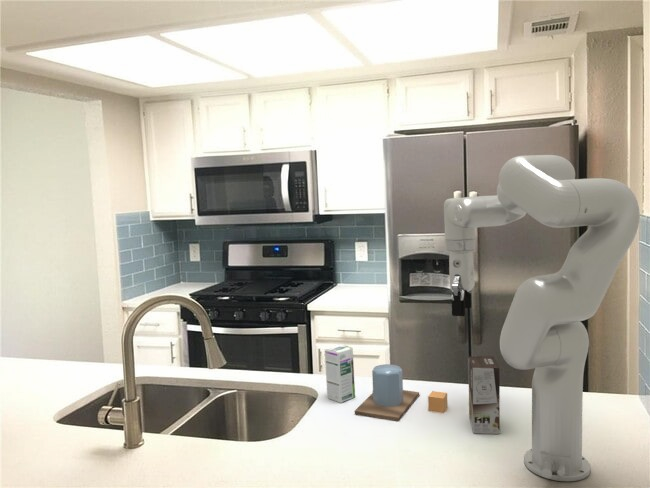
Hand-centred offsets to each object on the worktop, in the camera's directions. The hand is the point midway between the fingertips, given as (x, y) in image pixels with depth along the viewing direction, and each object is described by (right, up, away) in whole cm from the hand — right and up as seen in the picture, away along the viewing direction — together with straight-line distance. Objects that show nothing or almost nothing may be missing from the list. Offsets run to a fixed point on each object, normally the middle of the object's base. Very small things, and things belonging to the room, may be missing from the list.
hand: (462, 311), depth 142 cm
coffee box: (+3, -27, -9) cm, 28 cm away
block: (-6, -26, +2) cm, 27 cm away
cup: (-18, -25, +6) cm, 32 cm away
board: (-18, -26, +6) cm, 32 cm away
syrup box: (-31, -26, +12) cm, 42 cm away
